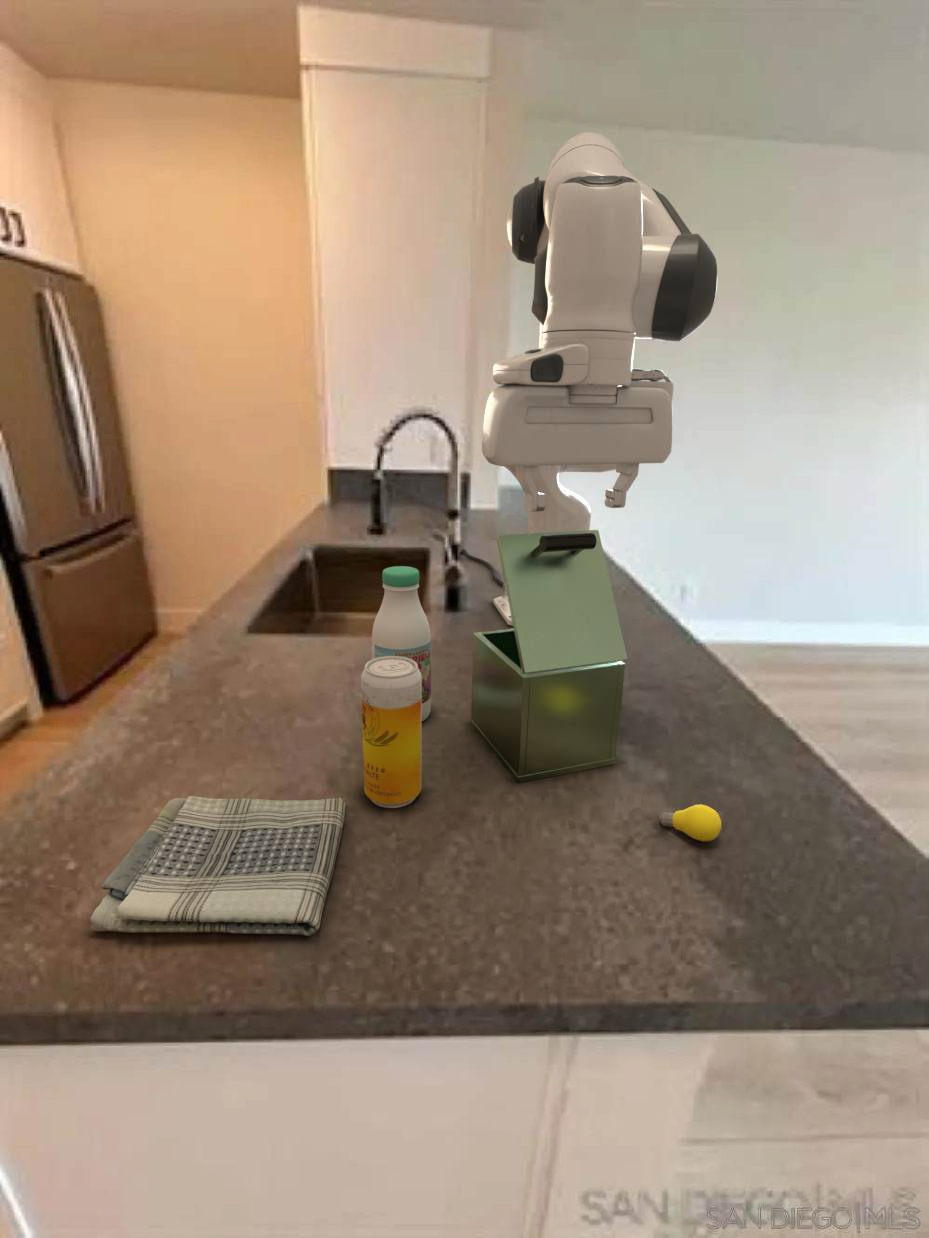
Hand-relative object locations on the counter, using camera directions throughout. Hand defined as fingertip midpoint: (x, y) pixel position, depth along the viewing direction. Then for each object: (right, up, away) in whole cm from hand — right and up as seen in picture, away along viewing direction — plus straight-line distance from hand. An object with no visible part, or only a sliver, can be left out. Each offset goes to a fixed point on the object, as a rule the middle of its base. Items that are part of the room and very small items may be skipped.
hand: (575, 509), depth 70 cm
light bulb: (+11, -33, -3) cm, 35 cm away
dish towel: (-32, -34, -9) cm, 48 cm away
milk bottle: (-20, -24, +21) cm, 38 cm away
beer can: (-19, -30, +3) cm, 36 cm away
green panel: (-1, -9, +5) cm, 11 cm away
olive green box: (-2, -27, +14) cm, 30 cm away
